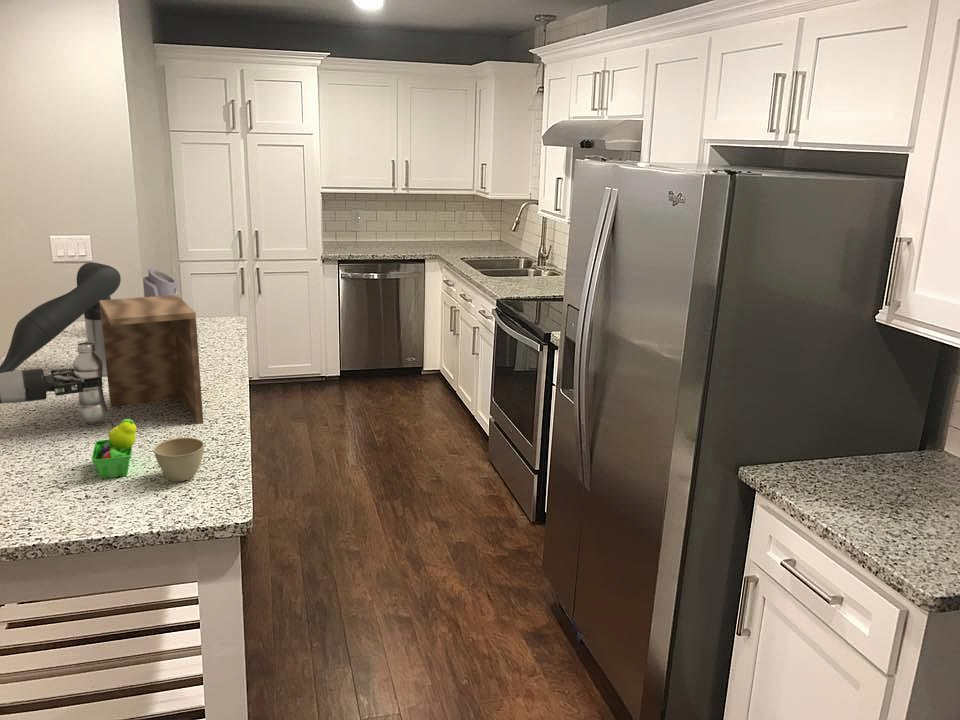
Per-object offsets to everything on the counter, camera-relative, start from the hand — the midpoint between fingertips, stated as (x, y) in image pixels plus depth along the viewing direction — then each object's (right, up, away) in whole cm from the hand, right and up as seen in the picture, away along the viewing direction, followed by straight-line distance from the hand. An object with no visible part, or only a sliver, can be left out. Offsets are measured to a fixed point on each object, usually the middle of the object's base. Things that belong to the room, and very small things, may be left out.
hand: (100, 377), depth 188 cm
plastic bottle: (-3, -11, +2) cm, 11 cm away
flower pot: (+30, -21, -25) cm, 44 cm away
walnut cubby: (+9, -10, +10) cm, 17 cm away
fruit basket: (+15, -20, -22) cm, 33 cm away
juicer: (-24, +13, +85) cm, 90 cm away
